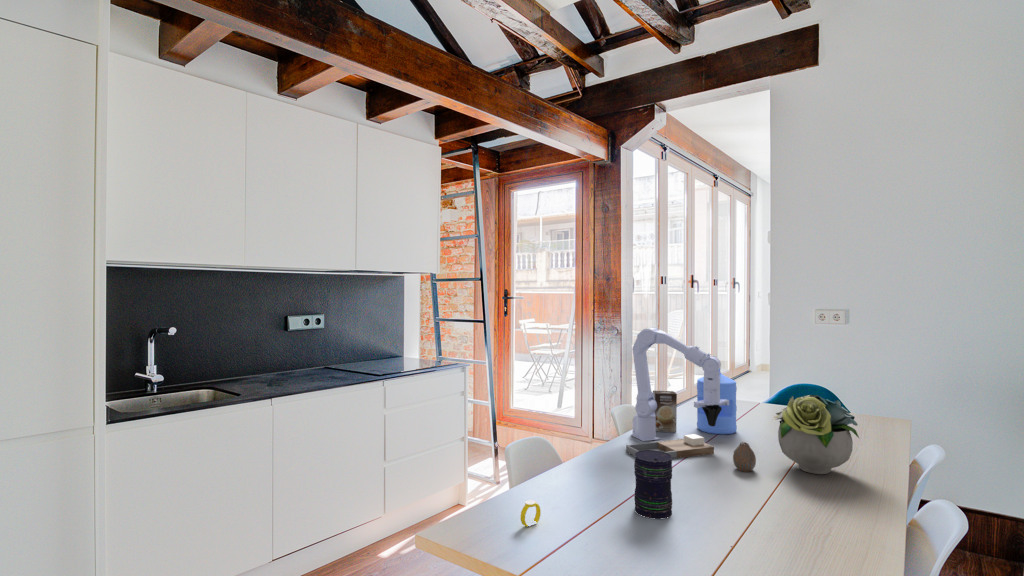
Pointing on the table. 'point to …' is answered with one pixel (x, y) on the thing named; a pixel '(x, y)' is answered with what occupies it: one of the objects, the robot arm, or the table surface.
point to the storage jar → (653, 484)
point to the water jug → (728, 412)
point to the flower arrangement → (816, 433)
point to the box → (647, 448)
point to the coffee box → (666, 410)
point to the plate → (685, 448)
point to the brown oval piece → (744, 457)
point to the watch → (527, 504)
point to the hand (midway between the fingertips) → (711, 425)
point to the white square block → (694, 439)
